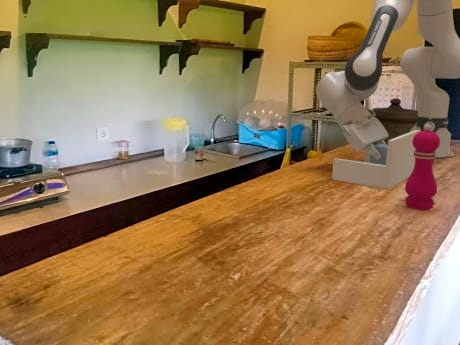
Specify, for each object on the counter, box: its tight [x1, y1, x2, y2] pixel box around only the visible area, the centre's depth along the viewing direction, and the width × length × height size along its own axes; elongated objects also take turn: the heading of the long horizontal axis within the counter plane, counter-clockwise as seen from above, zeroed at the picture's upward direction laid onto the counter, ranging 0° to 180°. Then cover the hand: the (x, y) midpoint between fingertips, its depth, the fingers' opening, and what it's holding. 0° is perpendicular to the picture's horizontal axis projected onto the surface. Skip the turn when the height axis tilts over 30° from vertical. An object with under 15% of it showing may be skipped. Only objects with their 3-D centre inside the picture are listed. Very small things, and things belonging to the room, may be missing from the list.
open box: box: [331, 130, 420, 190], centre depth 140 cm, size 24×16×14 cm, turn 143°
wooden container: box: [371, 97, 418, 145], centre depth 161 cm, size 15×15×22 cm
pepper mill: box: [404, 124, 440, 211], centre depth 114 cm, size 7×7×20 cm
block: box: [370, 143, 388, 165], centre depth 139 cm, size 5×5×9 cm
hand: (383, 156), depth 139 cm, fingers closed on block, 5 cm apart
